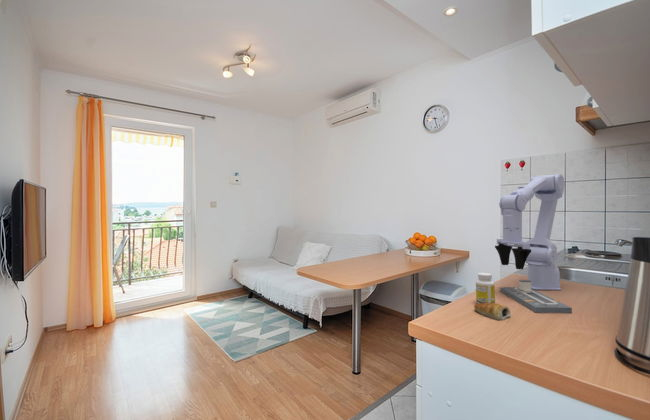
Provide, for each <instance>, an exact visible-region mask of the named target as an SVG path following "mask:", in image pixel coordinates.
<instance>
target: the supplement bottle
mask: <svg viewBox="0 0 650 420" xmlns="http://www.w3.org/2000/svg"><path fill="white" fill-rule="evenodd" d="M477 278H478V279H477V280H476V281H475V294H476V295H475V296H476V297H475V298H476V299H475V300H476V304H477V303H496V291H495V286H496V285H495V282H494V281H493V280H492V279H493V275H492V273H489V272H488V273H487V272H478V273H477Z"/></svg>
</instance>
